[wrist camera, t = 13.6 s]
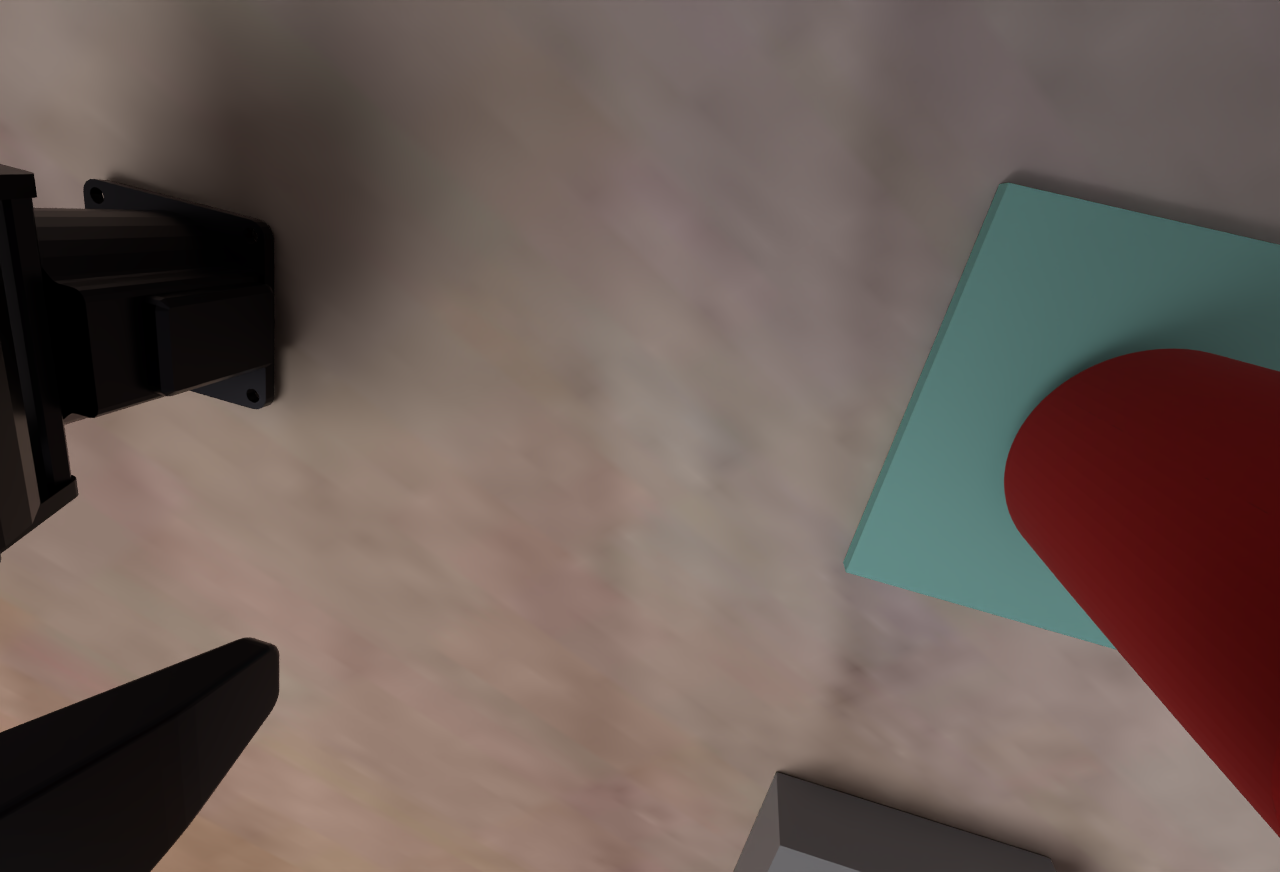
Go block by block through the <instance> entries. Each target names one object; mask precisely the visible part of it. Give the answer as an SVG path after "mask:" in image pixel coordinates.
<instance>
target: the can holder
mask: <svg viewBox="0 0 1280 872" xmlns="http://www.w3.org/2000/svg"><path fill="white" fill-rule="evenodd" d="M734 872H1056V870H1055V868H1054V865H1053V863H1052V861H1051V859H1050V858H1048V857H1044V856H1041V855H1038V854H1035V853H1032V852H1029V851H1025V850H1022V849H1019V848H1016V847H1013V846H1010V845H1006V844H1003V843H1000V842H997V841H994V840H991V839H987V838H984V837H981V836H978V835H975V834H972V833H968V832H965V831H962V830H959V829H956V828H953V827H949V826H946V825H943V824H940V823H937V822H934V821H930V820H927V819H924V818H921V817H918V816H915V815H911V814H908V813H905V812H902V811H899V810H896V809H892V808H889V807H886V806H883V805H880V804H877V803H873V802H870V801H867V800H864V799H861V798H858V797H854V796H851V795H848V794H845V793H842V792H839V791H835V790H832V789H829V788H826V787H823V786H820V785H816V784H813V783H810V782H807V781H804V780H801V779H797V778H794V777H791V776H788V775H785V774H782V773H778V772H776V774H775V776H774V779H773V781H772V783H771V786H770V788H769V790H768V793H767V795H766V797H765V800H764V802H763V804H762V807H761V809H760V811H759V814H758V816H757V818H756V820H755V823H754V825H753V827H752V830H751V832H750V834H749V837H748V839H747V841H746V844H745V846H744V848H743V851H742V853H741V855H740V858H739V860H738V862H737V865H736V867H735V869H734Z"/></svg>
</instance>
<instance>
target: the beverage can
mask: <svg viewBox="0 0 1280 872" xmlns="http://www.w3.org/2000/svg"><path fill="white" fill-rule="evenodd" d="M1004 493H1005V499H1006V504H1007V507H1008V511H1009V514H1010V516H1011V518H1012V521H1013V523H1014V524H1015V526H1016V528H1017V530H1018V531H1019V532H1020V534H1021V535H1022V537H1023V538H1024V539H1025V540H1026V541H1027V543H1028V544H1029V545H1030V546H1031V548H1032V549H1033V550H1034V551H1035V552H1036V554H1037V555H1038V556H1039V557H1040V559H1041V560H1042V561H1043V562H1044V563H1045V565H1046V566H1047V567H1048V568H1049V569H1050V571H1051V572H1052V573H1053V574H1054V576H1055V577H1056V578H1057V579H1058V580H1059V582H1060V583H1061V584H1062V585H1063V586H1064V588H1065V589H1066V590H1067V591H1068V592H1069V594H1070V595H1071V596H1072V597H1073V598H1074V599H1075V601H1076V602H1077V603H1078V604H1079V605H1080V607H1081V608H1082V609H1083V610H1084V611H1085V612H1086V614H1087V615H1088V616H1089V617H1090V618H1091V620H1092V621H1093V622H1094V623H1095V624H1096V625H1097V627H1098V628H1099V629H1100V630H1101V631H1102V633H1103V634H1104V635H1105V636H1106V637H1107V639H1108V640H1109V641H1110V642H1111V643H1112V644H1113V646H1114V647H1115V648H1116V649H1117V650H1118V652H1119V653H1120V654H1121V655H1122V656H1123V657H1124V659H1125V660H1126V661H1127V662H1128V663H1129V664H1130V666H1131V667H1132V668H1133V669H1134V670H1135V671H1136V673H1137V674H1138V675H1139V676H1140V677H1141V678H1142V680H1143V681H1144V682H1145V683H1146V684H1147V685H1148V686H1149V688H1150V689H1151V690H1152V691H1153V692H1154V693H1155V695H1156V696H1157V697H1158V698H1159V699H1160V700H1161V702H1162V703H1163V704H1164V705H1165V706H1166V707H1167V709H1168V710H1169V711H1170V712H1171V713H1172V714H1173V716H1174V717H1175V718H1176V719H1177V720H1178V721H1179V723H1180V724H1181V725H1182V726H1183V727H1184V728H1185V730H1186V731H1187V732H1188V733H1189V734H1190V735H1191V736H1192V738H1193V739H1194V740H1195V741H1196V742H1197V743H1198V744H1199V746H1200V747H1201V748H1202V749H1203V750H1204V751H1205V753H1206V754H1207V755H1208V756H1209V757H1210V758H1211V759H1212V761H1213V762H1214V763H1215V764H1216V765H1217V766H1218V767H1219V769H1220V770H1221V771H1222V772H1223V773H1224V774H1225V775H1226V777H1227V778H1228V779H1229V780H1230V781H1231V782H1232V783H1233V785H1234V786H1235V787H1236V788H1237V789H1238V790H1239V791H1240V793H1241V794H1242V795H1243V796H1244V797H1245V798H1246V799H1247V801H1248V802H1249V803H1250V804H1251V805H1252V806H1253V807H1254V809H1255V810H1256V811H1257V812H1258V813H1259V814H1260V815H1261V817H1262V818H1263V819H1264V820H1265V821H1266V822H1267V823H1268V825H1269V826H1270V827H1271V828H1272V829H1273V830H1274V832H1275V833H1276V834H1277V835H1278V836H1279V837H1280V371H1276V370H1272V369H1269V368H1265V367H1261V366H1257V365H1254V364H1250V363H1246V362H1242V361H1239V360H1235V359H1231V358H1228V357H1224V356H1220V355H1216V354H1213V353H1208V352H1203V351H1198V350H1190V349H1174V348H1173V349H1154V350H1145V351H1140V352H1134V353H1130V354H1126V355H1122V356H1118V357H1115V358H1112V359H1109V360H1106V361H1104V362H1101V363H1099V364H1096V365H1094V366H1092V367H1090V368H1088V369H1086V370H1083V371H1082V372H1080V373H1078V374H1076V375H1075V376H1073V377H1071V378H1070V379H1068V380H1067V381H1065V382H1064V383H1062V384H1061V385H1060V386H1058V387H1057V388H1056V389H1055V390H1053V391H1052V392H1051V393H1050V394H1049V395H1048V396H1046V397H1045V398H1044V399H1043V400H1042V401H1041V402H1040V403H1039V404H1038V405H1037V406H1036V407H1035V409H1034V410H1033V411H1032V412H1031V413H1030V415H1029V416H1028V417H1027V419H1026V420H1025V421H1024V423H1023V424H1022V426H1021V427H1020V429H1019V431H1018V433H1017V435H1016V436H1015V439H1014V441H1013V443H1012V445H1011V448H1010V451H1009V454H1008V457H1007V461H1006V465H1005V472H1004Z"/></svg>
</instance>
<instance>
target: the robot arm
mask: <svg viewBox="0 0 1280 872" xmlns="http://www.w3.org/2000/svg"><path fill="white" fill-rule="evenodd" d="M83 193H84V202H85V209H66V208H33V203H32V198H35V197H37V193H36V186H35V179H34V173H32V172H29V171H25V170H21V169H17V168H13V167H10V166H6V165H2V164H0V562H1V553H2V552H4V551H5V550H6V549H8V548H9V547H10V546H12V545H13V544H14V543H16V542H17V541H18V540H20V539H21V538H22V537H24V536H25V535H26V534H28V533H29V532H30V531H32V530H33V529H34V528H36V527H37V526H38V525H40V524H41V523H42V522H44V521H45V520H46V519H48V518H49V517H50V516H52V515H53V514H54V513H56V512H57V511H58V510H60V509H61V508H62V507H64V506H65V505H66V504H68V503H69V502H71V501H72V500H73V499H75V498H76V497H77V496H78V488H77V481H76V477H75V476H73V475H71V470H70V463H69V456H68V449H67V442H66V435H65V428H64V425H65V424H69V423H72V422H75V421H79V420H82V419H85V418H95V417H98V416H102V415H105V414H108V413H112V412H115V411H118V410H122V409H125V408H128V407H131V406H135V405H138V404H141V403H145V402H148V401H151V400H155V399H158V398H161V397H164V396H173V395H176V394H180V393H183V392H186V391H193V392H196V393H200V394H203V395H207V396H210V397H214V398H217V399H220V400H224V401H227V402H231V403H234V404H238V405H241V406H245V407H248V408H252V409H260V408H262V407H265V406H268V405H270V404H271V403H272V402H273V399H274V238H273V233H272V231H271V229H270V227H269V226H268V225H267V224H266V223H265V222H264V221H262V220H259V219H256V218H252V217H248V216H244V215H240V214H236V213H233V212H229V211H225V210H221V209H217V208H213V207H209V206H206V205H202V204H198V203H194V202H190V201H186V200H182V199H179V198H175V197H171V196H167V195H163V194H159V193H155V192H152V191H148V190H144V189H140V188H136V187H132V186H128V185H125V184H121V183H117V182H113V181H109V180H98V179H90V180H88V181H86V183H85V185H84V191H83ZM102 193H103V195H104V199H103V195H102ZM253 229H254V230H255V232H256V233H257V237H258V238H257V242H256V241H255V239H254V238H253V234H252V233H253ZM255 390H256V391H257V393H258V394H259V398H258V397H257V396H256V394H255ZM278 695H279V651H278V649H277V647H276V646H275V645H273V644H270V643H267V642H264V641H261V640H258V639H255V638H242V639H238V640H236V641H233V642H231V643H228V644H225V645H223V646H220V647H218V648H215V649H213V650H210V651H208V652H205V653H202V654H200V655H197V656H195V657H192V658H190V659H187V660H185V661H182V662H179V663H177V664H174V665H172V666H169V667H167V668H164V669H162V670H159V671H156V672H154V673H151V674H149V675H146V676H144V677H141V678H139V679H136V680H133V681H131V682H128V683H126V684H123V685H121V686H118V687H116V688H113V689H110V690H108V691H105V692H103V693H100V694H98V695H95V696H93V697H90V698H87V699H85V700H82V701H80V702H77V703H75V704H72V705H70V706H67V707H64V708H62V709H59V710H57V711H54V712H52V713H49V714H47V715H44V716H41V717H39V718H36V719H34V720H31V721H29V722H26V723H24V724H21V725H18V726H16V727H13V728H11V729H8V730H6V731H3V732H1V733H0V872H151V870H152V869H153V868H154V867H155V866H156V864H157V863H158V862H159V861H160V860H161V859H162V857H163V856H164V855H165V854H166V853H167V852H168V850H169V849H170V848H171V847H172V846H173V844H174V843H175V842H176V841H177V840H178V838H179V837H180V836H181V835H182V833H183V832H184V831H185V830H186V829H187V827H188V826H189V825H190V823H191V822H192V821H193V819H194V818H195V817H196V815H197V814H198V813H199V811H200V810H201V809H202V807H203V806H204V805H205V803H206V802H207V800H208V799H209V798H210V796H211V795H212V793H213V792H214V791H215V789H216V788H217V786H218V785H219V784H220V782H221V781H222V779H223V778H224V777H225V775H226V774H227V772H228V771H229V770H230V768H231V767H232V766H233V764H234V763H235V761H236V760H237V759H238V757H239V756H240V754H241V753H242V752H243V750H244V749H245V747H246V746H247V745H248V743H249V742H250V740H251V739H252V738H253V736H254V735H255V733H256V732H257V731H258V729H259V728H260V727H261V725H262V724H263V722H264V721H265V720H266V718H267V717H268V715H269V714H270V712H271V711H272V709H273V707H274V706H275V704H276V701H277V698H278Z"/></svg>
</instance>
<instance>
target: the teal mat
mask: <svg viewBox="0 0 1280 872" xmlns="http://www.w3.org/2000/svg"><path fill="white" fill-rule="evenodd" d="M1173 348H1174V349H1190V350H1198V351H1203V352H1208V353H1213V354H1216V355H1220V356H1224V357H1228V358H1231V359H1235V360H1239V361H1242V362H1246V363H1250V364H1254V365H1257V366H1261V367H1265V368H1269V369H1272V370H1276V371H1280V245H1278V244H1274V243H1269V242H1265V241H1261V240H1256V239H1252V238H1248V237H1243V236H1239V235H1235V234H1230V233H1226V232H1221V231H1217V230H1213V229H1208V228H1204V227H1200V226H1195V225H1191V224H1187V223H1182V222H1178V221H1174V220H1169V219H1165V218H1160V217H1156V216H1152V215H1147V214H1143V213H1139V212H1134V211H1130V210H1126V209H1121V208H1117V207H1112V206H1108V205H1104V204H1099V203H1095V202H1091V201H1086V200H1082V199H1078V198H1073V197H1069V196H1064V195H1060V194H1056V193H1051V192H1047V191H1043V190H1038V189H1034V188H1030V187H1025V186H1021V185H1017V184H1012V183H1003V184H999V186H998V189H997V191H996V194H995V196H994V199H993V201H992V203H991V206H990V208H989V211H988V213H987V216H986V218H985V220H984V223H983V225H982V228H981V230H980V232H979V235H978V237H977V240H976V242H975V245H974V247H973V249H972V252H971V254H970V257H969V259H968V262H967V264H966V266H965V269H964V271H963V274H962V276H961V278H960V281H959V283H958V286H957V288H956V291H955V293H954V295H953V298H952V300H951V303H950V305H949V308H948V310H947V312H946V315H945V317H944V320H943V322H942V325H941V327H940V329H939V332H938V334H937V337H936V339H935V341H934V344H933V346H932V349H931V351H930V354H929V356H928V358H927V361H926V363H925V366H924V368H923V371H922V373H921V375H920V378H919V380H918V383H917V385H916V387H915V390H914V392H913V395H912V397H911V400H910V402H909V404H908V407H907V409H906V412H905V414H904V417H903V419H902V421H901V424H900V426H899V429H898V431H897V433H896V436H895V438H894V441H893V443H892V446H891V448H890V450H889V453H888V455H887V458H886V460H885V463H884V465H883V467H882V470H881V472H880V475H879V477H878V479H877V482H876V484H875V487H874V489H873V492H872V494H871V496H870V499H869V501H868V504H867V506H866V509H865V511H864V513H863V516H862V518H861V521H860V523H859V525H858V528H857V530H856V533H855V535H854V538H853V540H852V542H851V545H850V547H849V550H848V552H847V555H846V557H845V559H844V562H843V563H844V567H845V571H846V572H847V573H851V574H854V575H858V576H861V577H865V578H868V579H872V580H875V581H879V582H882V583H886V584H889V585H893V586H896V587H900V588H903V589H907V590H910V591H914V592H917V593H921V594H924V595H928V596H931V597H935V598H938V599H942V600H945V601H949V602H952V603H956V604H959V605H963V606H966V607H970V608H973V609H977V610H980V611H984V612H987V613H991V614H994V615H998V616H1001V617H1005V618H1008V619H1012V620H1015V621H1019V622H1022V623H1026V624H1029V625H1033V626H1036V627H1040V628H1043V629H1046V630H1050V631H1053V632H1057V633H1060V634H1064V635H1067V636H1071V637H1074V638H1078V639H1081V640H1085V641H1088V642H1092V643H1095V644H1099V645H1102V646H1106V647H1109V648H1113V649H1116V648H1115V647H1114V646H1113V644H1112V643H1111V642H1110V641H1109V640H1108V639H1107V637H1106V636H1105V635H1104V634H1103V633H1102V631H1101V630H1100V629H1099V628H1098V627H1097V625H1096V624H1095V623H1094V622H1093V621H1092V620H1091V618H1090V617H1089V616H1088V615H1087V614H1086V612H1085V611H1084V610H1083V609H1082V608H1081V607H1080V605H1079V604H1078V603H1077V602H1076V601H1075V599H1074V598H1073V597H1072V596H1071V595H1070V594H1069V592H1068V591H1067V590H1066V589H1065V588H1064V586H1063V585H1062V584H1061V583H1060V582H1059V580H1058V579H1057V578H1056V577H1055V576H1054V574H1053V573H1052V572H1051V571H1050V569H1049V568H1048V567H1047V566H1046V565H1045V563H1044V562H1043V561H1042V560H1041V559H1040V557H1039V556H1038V555H1037V554H1036V552H1035V551H1034V550H1033V549H1032V548H1031V546H1030V545H1029V544H1028V543H1027V541H1026V540H1025V539H1024V538H1023V537H1022V535H1021V534H1020V532H1019V531H1018V530H1017V528H1016V526H1015V524H1014V523H1013V521H1012V518H1011V516H1010V514H1009V511H1008V507H1007V504H1006V499H1005V493H1004V472H1005V465H1006V461H1007V457H1008V454H1009V451H1010V448H1011V445H1012V443H1013V441H1014V439H1015V436H1016V435H1017V433H1018V431H1019V429H1020V427H1021V426H1022V424H1023V423H1024V421H1025V420H1026V419H1027V417H1028V416H1029V415H1030V413H1031V412H1032V411H1033V410H1034V409H1035V407H1036V406H1037V405H1038V404H1039V403H1040V402H1041V401H1042V400H1043V399H1044V398H1045V397H1046V396H1048V395H1049V394H1050V393H1051V392H1052V391H1053V390H1055V389H1056V388H1057V387H1058V386H1060V385H1061V384H1062V383H1064V382H1065V381H1067V380H1068V379H1070V378H1071V377H1073V376H1075V375H1076V374H1078V373H1080V372H1082V371H1083V370H1086V369H1088V368H1090V367H1092V366H1094V365H1096V364H1099V363H1101V362H1104V361H1106V360H1109V359H1112V358H1115V357H1118V356H1122V355H1126V354H1130V353H1134V352H1140V351H1145V350H1154V349H1173ZM1116 650H1117V649H1116Z"/></svg>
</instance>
